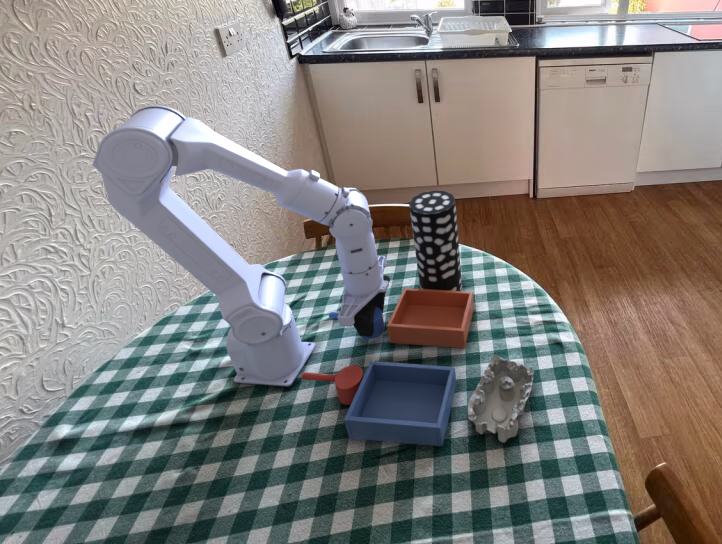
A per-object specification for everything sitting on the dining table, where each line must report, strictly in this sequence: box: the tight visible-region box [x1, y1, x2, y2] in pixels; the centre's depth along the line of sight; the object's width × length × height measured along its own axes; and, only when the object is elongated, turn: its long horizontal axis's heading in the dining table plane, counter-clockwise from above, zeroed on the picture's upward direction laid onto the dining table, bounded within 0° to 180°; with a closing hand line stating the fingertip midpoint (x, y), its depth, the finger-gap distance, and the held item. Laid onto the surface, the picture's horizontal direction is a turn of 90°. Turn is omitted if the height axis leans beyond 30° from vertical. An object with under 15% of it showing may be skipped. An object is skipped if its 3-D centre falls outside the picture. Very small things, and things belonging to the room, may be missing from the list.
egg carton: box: [467, 354, 535, 444], centre depth 60 cm, size 11×8×4 cm
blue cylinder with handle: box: [328, 307, 386, 340], centre depth 72 cm, size 10×4×4 cm, turn 85°
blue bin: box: [343, 360, 457, 447], centre depth 60 cm, size 13×9×4 cm
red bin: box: [386, 287, 475, 349], centre depth 74 cm, size 13×9×4 cm
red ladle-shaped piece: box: [300, 364, 365, 406], centre depth 63 cm, size 10×4×4 cm, turn 85°
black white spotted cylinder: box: [408, 190, 463, 291], centre depth 79 cm, size 8×8×20 cm
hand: (371, 324), depth 72 cm, fingers closed on blue cylinder with handle, 4 cm apart
